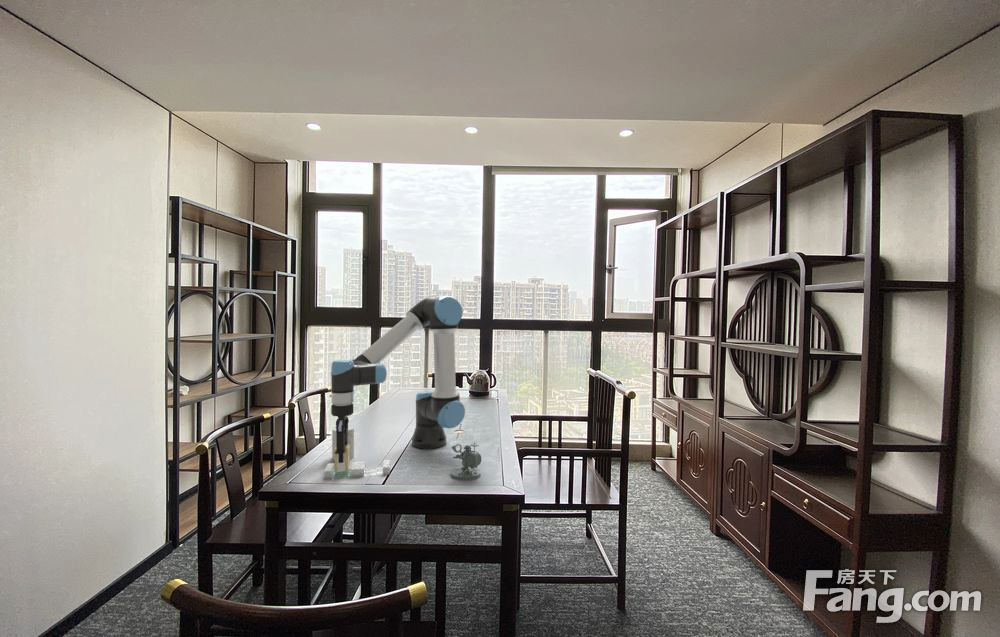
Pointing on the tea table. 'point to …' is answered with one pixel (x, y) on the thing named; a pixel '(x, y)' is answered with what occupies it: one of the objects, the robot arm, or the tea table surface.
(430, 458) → the tea table surface
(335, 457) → the pale yellow tall block
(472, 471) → the figurine
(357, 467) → the rail
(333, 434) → the cup
